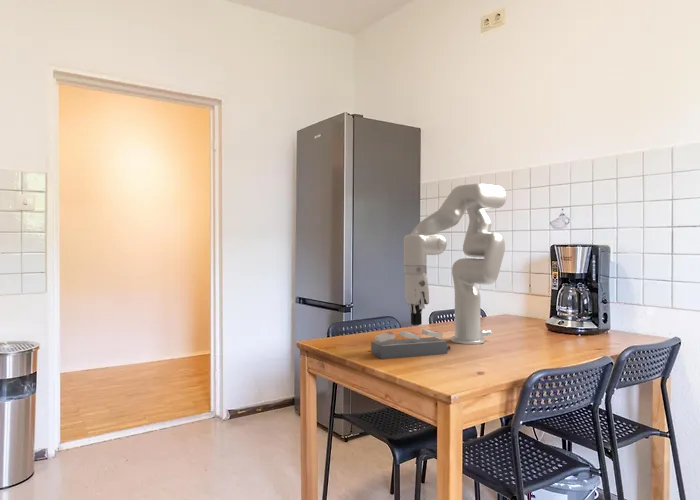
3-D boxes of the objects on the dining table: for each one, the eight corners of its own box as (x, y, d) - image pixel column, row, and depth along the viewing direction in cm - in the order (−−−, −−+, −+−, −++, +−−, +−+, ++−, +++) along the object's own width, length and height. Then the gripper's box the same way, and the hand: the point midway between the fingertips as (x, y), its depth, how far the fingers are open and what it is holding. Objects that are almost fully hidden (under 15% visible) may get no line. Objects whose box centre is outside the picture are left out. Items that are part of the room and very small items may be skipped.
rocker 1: (390, 335, 164) (389, 330, 164) (395, 337, 160) (394, 333, 160) (375, 339, 163) (374, 335, 163) (380, 342, 159) (379, 337, 158)
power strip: (443, 347, 173) (443, 335, 173) (456, 352, 165) (456, 340, 165) (371, 353, 165) (371, 340, 165) (381, 359, 156) (380, 345, 156)
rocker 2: (413, 337, 167) (414, 332, 167) (419, 339, 163) (420, 335, 163) (399, 334, 165) (399, 330, 166) (404, 337, 161) (405, 332, 161)
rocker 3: (435, 335, 170) (436, 331, 170) (441, 337, 166) (442, 333, 166) (421, 333, 168) (422, 328, 168) (427, 335, 164) (428, 331, 164)
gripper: (435, 271, 159) (436, 327, 159) (415, 269, 173) (416, 320, 174) (415, 272, 156) (416, 329, 157) (396, 269, 171) (397, 321, 171)
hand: (416, 324), depth 165 cm, fingers closed
